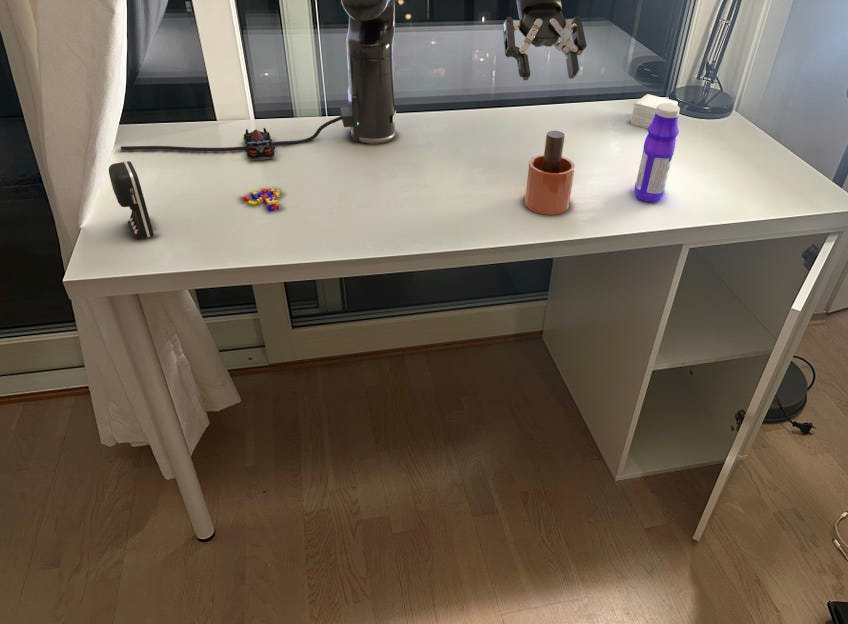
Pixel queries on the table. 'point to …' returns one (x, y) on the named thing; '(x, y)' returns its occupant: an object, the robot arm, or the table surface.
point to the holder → (549, 187)
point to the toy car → (258, 145)
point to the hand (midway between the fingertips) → (550, 77)
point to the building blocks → (270, 202)
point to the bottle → (657, 153)
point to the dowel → (553, 151)
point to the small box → (647, 109)
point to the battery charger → (131, 197)
